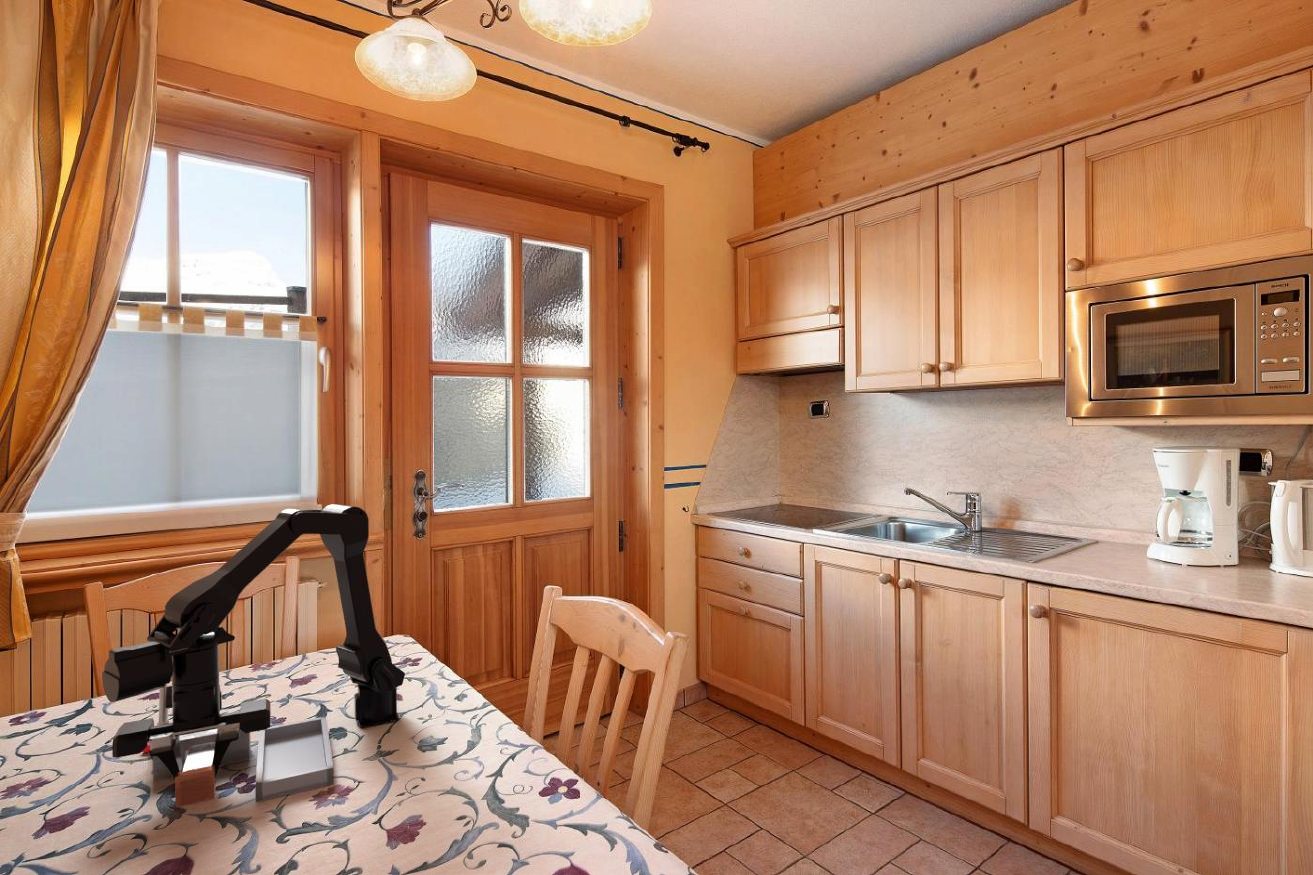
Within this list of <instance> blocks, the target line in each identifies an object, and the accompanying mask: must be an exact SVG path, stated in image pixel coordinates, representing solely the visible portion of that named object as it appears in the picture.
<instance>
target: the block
mask: <svg viewBox="0 0 1313 875" xmlns="http://www.w3.org/2000/svg"><path fill="white" fill-rule="evenodd" d="M216 736H217V729H213V730H207V731H202V732H196V733H191V734H186V735H180V736H179V743H180V753H181V759H182V766H183V769H184V765H185V762H186V758H187V754H188V751H189V749H188V747H189V746H195V745H200V744H205V743H210V742H215V741H216ZM251 737H252V736H251V732H250V733H245V732H243V731H241V730H240V736H239V739H238V740H236V741H232V742H231V743H230V745H229V747H228V749H227V751H226V753H225V755H224V757H223V759H222V762H221V765H220V767H221V766H226V765H231V764H236V763H237V764H238V763H241V762H246V761H250V758H251V751H252V750H251V749H252V748H251V747H252V746H251V744H252V742H251V741H252V740H251ZM167 777H172V775H171V773H170V771H169V770H168V768H167V767H166V766H165V765H164V764H163V762H162V761H161V760H160V759H159V758H158V757H157V756H154V757H152V779H153V781H154V780H159V779H164V778H167Z"/></svg>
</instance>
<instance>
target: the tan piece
mask: <svg viewBox="0 0 1313 875" xmlns="http://www.w3.org/2000/svg"><path fill="white" fill-rule="evenodd" d="M214 748H215V742H210V743H205V744H200V745H195V746H190V747H189V749H188V754H187V758H186V762H185V765H184V769H183V772H178V773H176V776H175V780H174V798H175V801H174V802H175V806H174V807H175V808H177V807H179V808H180V807H181V806H182V807H183V806H186V805H187V806H188V805H191V804H196V803H199V802H204V801H210V800H213V799H215V798H216V779H215V765H212V764H213V756H214Z"/></svg>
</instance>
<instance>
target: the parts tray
mask: <svg viewBox="0 0 1313 875" xmlns="http://www.w3.org/2000/svg"><path fill="white" fill-rule="evenodd" d="M330 743H331V742H330V736H329V729H328V722H327V716H322V717H315V718H310V719H306V720H305V719H304V720H301V721H295V722H294V721H293V722H288V723H284V724H283V723H282V724H279V725H278V724H277V725H273V726H270V728H268V729H266V730H260V731H258V744H257V745H258V746H257V756H256V758H257V760H256V770H255V773H256V774H255V786H254V787H255V792H254V793H255V803H258V802H262V801H266V800H270V799H275V798H276V799H277V798H279V797H283V796H284V797H285V796H288V795H292V794H297V793H301V792H304V791H310V790H315V789H318V788H322V787H323V788H324V787H326V786H331V785H334V781H335V780H334V764H333V763H334V762H333V756H332V750H331V749H332V748H331V744H330Z"/></svg>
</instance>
